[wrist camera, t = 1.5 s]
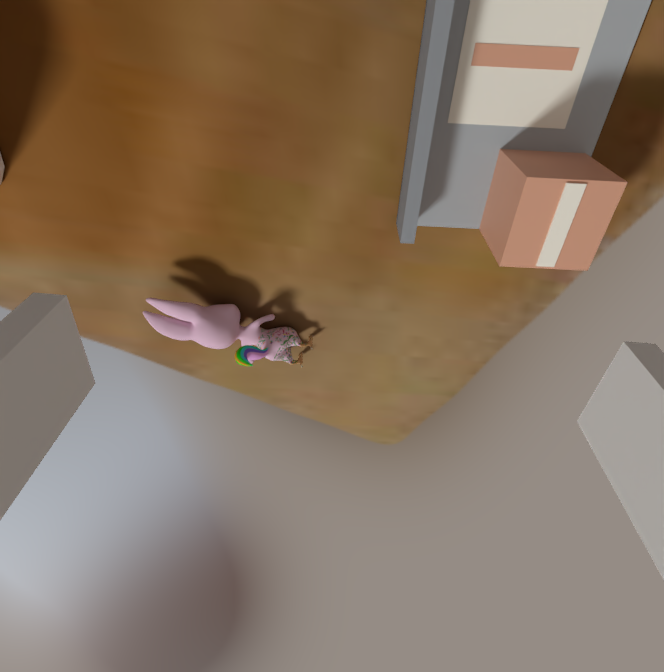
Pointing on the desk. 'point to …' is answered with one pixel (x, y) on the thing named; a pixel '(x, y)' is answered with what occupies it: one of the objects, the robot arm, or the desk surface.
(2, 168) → the white cup
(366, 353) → the desk surface
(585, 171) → the cube
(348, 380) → the desk surface
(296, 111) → the desk surface
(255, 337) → the rabbit figure
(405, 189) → the tray
